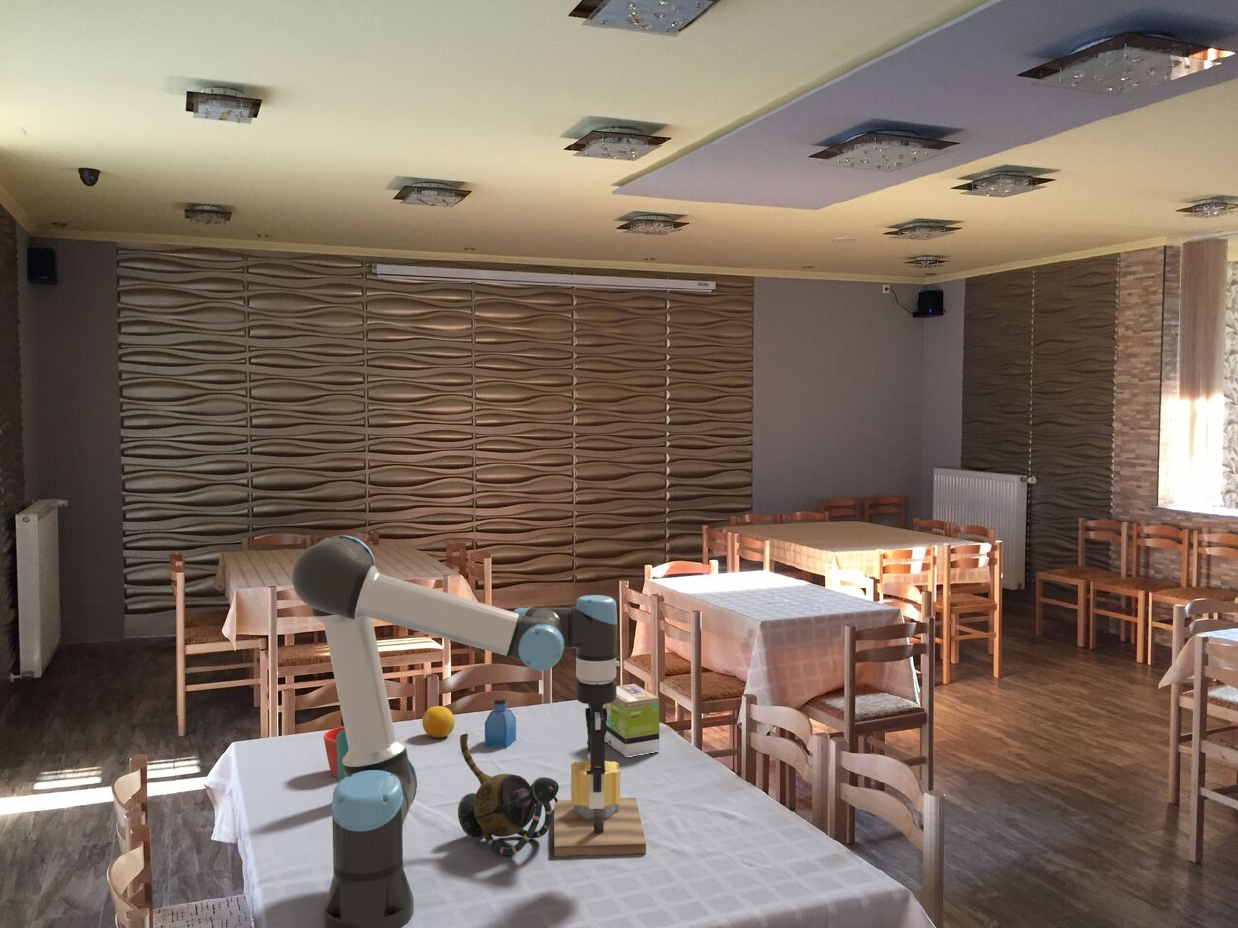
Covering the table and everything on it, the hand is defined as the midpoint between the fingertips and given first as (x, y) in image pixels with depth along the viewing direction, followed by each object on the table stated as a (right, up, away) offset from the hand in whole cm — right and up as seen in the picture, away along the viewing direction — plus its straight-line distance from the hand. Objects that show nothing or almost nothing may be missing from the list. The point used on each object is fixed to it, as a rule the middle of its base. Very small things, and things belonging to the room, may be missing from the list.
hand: (595, 797), depth 188 cm
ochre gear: (0, 0, 0) cm, 0 cm away
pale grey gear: (0, -11, +26) cm, 28 cm away
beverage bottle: (-55, -13, +36) cm, 67 cm away
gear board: (0, -14, +21) cm, 25 cm away
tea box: (+7, -12, +73) cm, 75 cm away
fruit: (-44, -11, +83) cm, 95 cm away
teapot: (-27, -7, +19) cm, 34 cm away
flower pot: (-62, -13, +56) cm, 84 cm away
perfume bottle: (-27, -11, +77) cm, 82 cm away
